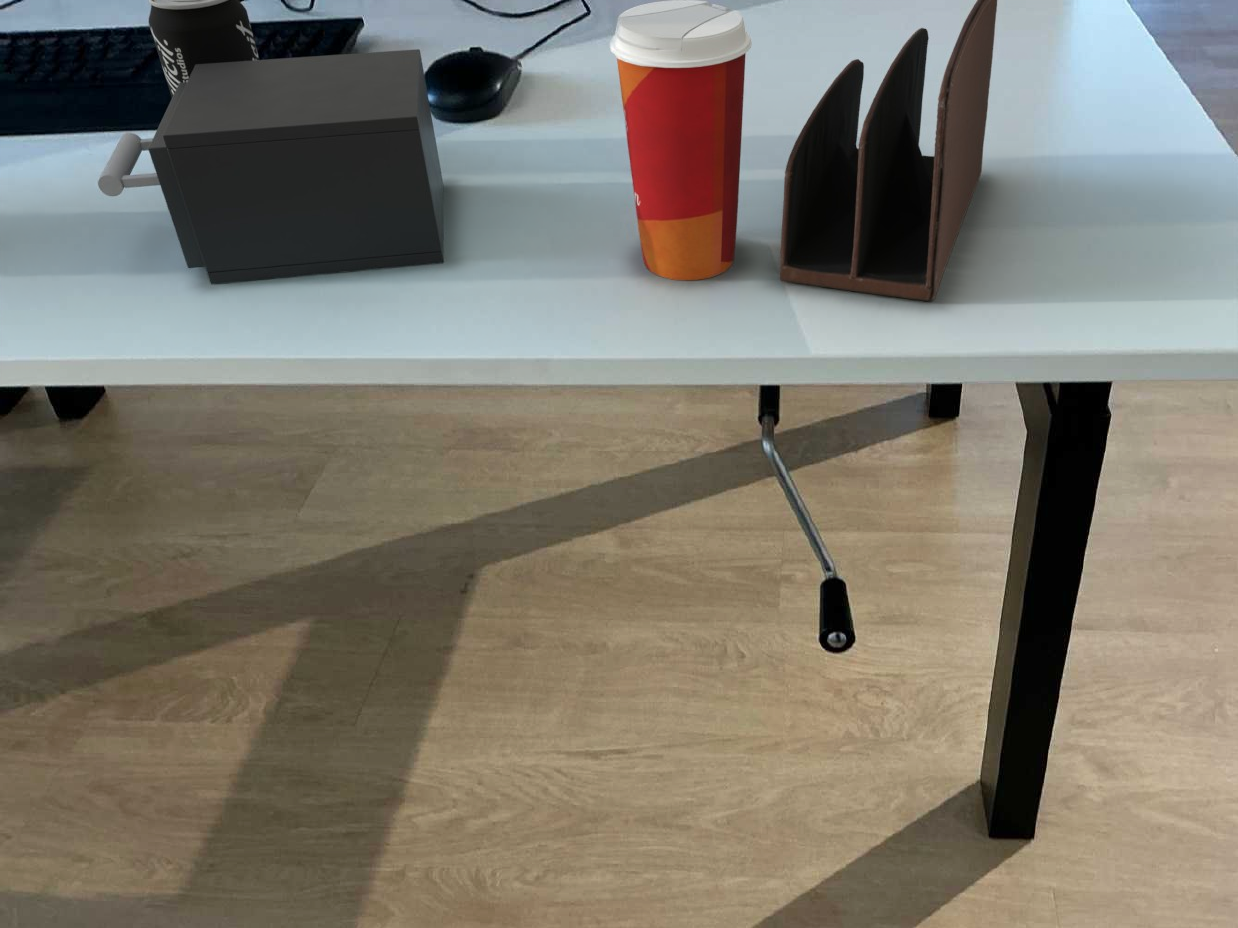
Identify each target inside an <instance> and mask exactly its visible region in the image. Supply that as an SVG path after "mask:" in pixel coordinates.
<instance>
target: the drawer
mask: <svg viewBox="0 0 1238 928" xmlns="http://www.w3.org/2000/svg"><path fill="white" fill-rule="evenodd" d="M186 84H187V82H183V83H179V85H178V87H177V89H176V91H175V93H174V95H173V98H172V97H171V99H170V102H169V104H168V105H167V108H166V110H165V112H164V115H163V117H162V119H161V121H160V122H159V124H158V127H157V129H156V131H155V133H154V136H153V137H150V138H149V137H148V138H141V137H140V136H139V135H138V134H136V133H133V132H125V133H123V134H122V135H121V136H120V137H119V140H118V142H117V143H116V145H115V147H114V150H113V152H112V153H111V154H110V157H109V159H108V161H107V163H106V164H105V166H104V168H103V170H102V172H101V174H100V176H99V178H98V180H97V187H98V189H99V191H101V193H102V194H104V195H105V196H108V197H112V198H113V197H118V196H120V195H121V194H122V193H123V191H124V189H130V188H142V187H155V186H160V189H161V191H162V194H163V197H164V200H165V201H164V202H165V204H166V207H167V210H168V212H169V216H170V219H171V221H172V225H173V227H174V231H175V233H176V237H177V240H178V243H179V245H180V246H179V247H180V248H181V252H182V255H183V257H184V258H183V259H184V261H185V263H186V266H187V268H188V269H199V268H205V265H204V262H203V259H202V256H201V253H200V249H199V246H198V243H197V240H196V237H195V234H194V231H193V228H192V225H191V222H190V219H189V215H188V212H187V209H186V206H185V203H184V200H183V197H182V194H181V191H180V188H179V185H178V182H177V178H176V175H175V172H174V169H173V166H172V163H171V160H170V157H169V154H168V151H167V148H166V145H165V142H164V139H163V134H164V132H165V130H166V128H167V125H168V123H169V121H170V119H171V117H172V115H173V112H174V110H175V108H176V106H177V104H178V102H179V99H180V97H181V95H182V93H183V91H184V89H185V86H186ZM143 151H148V154H149V156H150V159H151V162H152V164H153V168H154V170H155V172H151V173H149V172H148V173H141V174H140V173H139V174H132V173H133V170H134V168H135V166H136V164H137V162H138V160H139V158H140V156H141V154H142V152H143Z"/></svg>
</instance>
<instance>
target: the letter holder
mask: <svg viewBox="0 0 1238 928" xmlns="http://www.w3.org/2000/svg"><path fill="white" fill-rule="evenodd" d="M997 7H998V0H976V2H975V3H974V4H973V6H972V8H971V10H970V11H969V13H968V15H967V16H966V19H965V21H964V22H963V25H962V27H961V30H960V32H959V34H958V36H957V40H956V42H955V44H954V46H953V48H952V52H951V54H950V57H949V59H948V62H947V64H946V67H945V71H944V74H943V77H942V80H941V84H940V87H939V88H940V89H939V92H938V93H939V94H938V98H937V108H936V113H937V114H936V125H935V126H936V129H935V139H934V155H923V153H922V151H921V148H920V136H921V124H922V113H923V112H922V111H923V100H924V99H923V98H924V88H925V79H926V66H927V55H928V44H929V31H928V30H927V28H924V27H920V28H918V29H917V30H916V31H915V32H913V34H912V35H911V36H910V37H909V38H908V39H907V41H906V42H905V43H904V45H902V47H901V49H900V50H899V52H898V53H897V55H896V56H895V58H894V60H893V61H892V63H890V66H889V68H888V70H887V71H886V73H885V75H884V76H883V77H884V78H883V79H882V81H881V83H880V85H879V87H878V89H877V91H876V93H875V95H874V97H873V99H872V102H871V104H870V107H869V109H868V112H867V114H866V116H865V118H864V120H863V123H862V127H861V131H860V135H859V142H858V147H857V140H858V134H859V133H858V132H859V120H860V111H861V98H862V90H863V83H864V76H865V73H864V72H865V65H864V64H865V63H864V62H863V61H861V60H860V59H859V58H858V59H857V58H855V59H853V60H851V61H850V62H849V63H848V64H847V65H846V66H845V67H844V68H843V69H842V71H840V73H838V75H837V76H836V77H835V78H834V80H833V81H832V83H831V84H830V85H829V87H828V88H827V89H826V91H825V93H823V95H822V97H821V98H820V100H819V101H818V103H817V104H816V106H815V107H814V109H813V110H812V112H811V113H810V115H809V117H808V118H807V120H806V122H805V123H804V125H803V127H802V128H801V131H800V133H799V135H798V137H797V138H796V140H795V142H794V144H793V147H792V149H791V151H790V153H789V154H790V155H789V157H788V159H787V162H786V166H785V171H784V183H783V201H782V202H783V204H782V221H781V236H780V253H779V254H780V255H779V256H780V257H779V258H780V259H779V273H778V275H779V280H780V281H782V282H785V283H792V284H802V285H807V286H815V287H822V288H827V289H833V290H843V291H850V292H857V293H863V294H870V295H878V296H884V297H885V296H886V297H894V298H901V299H908V300H917V301H921V302H933V300H934V299H935V298H936V296H937V293H938V289H939V286H940V283H941V280H942V278H943V274H944V272H945V269H946V266H947V264H948V261H949V258H950V257H951V253H952V252H953V248H954V246H955V243H956V241H957V239H958V235H959V232H960V230H961V228H962V226H963V225H962V224H963V222H964V219H965V216H966V215H967V211H968V209H969V206H970V203H971V201H972V198H973V195H974V192H975V189H976V186H977V184H978V182H979V181H980V178H981V174H982V172H983V158H984V144H985V136H986V128H987V127H986V126H987V119H988V118H987V117H988V109H989V97H990V87H991V76H992V66H993V58H994V57H993V56H994V47H995V46H994V44H995V35H996V34H995V32H996V20H997V12H998V8H997Z"/></svg>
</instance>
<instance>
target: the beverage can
mask: <svg viewBox="0 0 1238 928" xmlns="http://www.w3.org/2000/svg"><path fill="white" fill-rule="evenodd" d="M148 3H149V4H150V10H149V11H150V12H149V16H148V25H149V29H150V32H151V35H152V38H153V42H154V46H155V48H156V51H157V55H158V56H159V60H160V64H161V68H162V70H163V73H164V77H165V81H166V83H167V87H168V90H169V93H170V97H171V99H172V98H173V95H174V93H175V91H176V89H177V87H178V85H179V83H183V82H188V80H189V78H190V76H191V73H192V71H193V69H194V67H195V65H196V64H209V63H224V62H239V61H254V60H260V57H259V53H258V49H257V45H256V42H255V36H254V33H253V29H252V25H251V22H250V18H249V14H248V11H247V9H246V7H245V6H244V5H243V3H241V1H240V0H148Z"/></svg>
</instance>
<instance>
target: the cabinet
mask: <svg viewBox="0 0 1238 928" xmlns="http://www.w3.org/2000/svg"><path fill="white" fill-rule="evenodd" d="M430 105H431V104H430V99H429V94H428V88H427V83H426V76H425V71H424V66H423V60H422V54H421V49H419V48H417V49H416V48H415V49H403V50H389V51H388V50H387V51H373V52H371V51H370V52H360V53H359V52H358V53H345V54H344V53H343V54H342V53H341V54H327V55H316V56H315V55H314V56H300V57H285V58H283V57H282V58H271V59H270V58H269V59H268V58H267V59H259V60H254V61H239V62H224V63H209V64H196V65H195V67H194V69H193V71H192V73H191V76H190V78H189V80H188V82H187V84H186V86H185V89H184V91H183V93H182V95H181V97H180V99H179V102H178V104H177V106H176V108H175V110H174V112H173V115H172V117H171V119H170V121H169V123H168V125H167V128H166V130H165V132H164V134H163V139H164V142H165V145H166V148H167V151H168V154H169V157H170V160H171V163H172V166H173V169H174V172H175V175H176V178H177V182H178V185H179V188H180V191H181V194H182V197H183V200H184V203H185V206H186V209H187V212H188V215H189V219H190V222H191V225H192V228H193V231H194V234H195V237H196V240H197V243H198V246H199V249H200V253H201V256H202V259H203V262H204V265H205V267H204V268H205V271H206V272H207V273H206V274H207V277H208V281H209V283H210V285H217V284H227V283H239V282H249V281H260V280H273V279H282V278H294V277H304V276H315V275H316V276H317V275H325V274H337V273H347V272H358V271H359V272H360V271H369V270H380V269H381V270H382V269H391V268H402V267H412V266H413V267H414V266H422V265H423V266H425V265H433V264H435V265H436V264H443V263H444V262H445V261H444V260H445V259H444V258H445V257H444V255H445V254H444V253H445V252H444V249H445V248H444V246H445V245H444V243H445V241H444V240H445V239H444V238H445V237H444V180H443V175H442V168H441V163H440V158H439V152H438V146H437V140H436V133H435V128H434V123H433V117H432V111H431V106H430Z"/></svg>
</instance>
